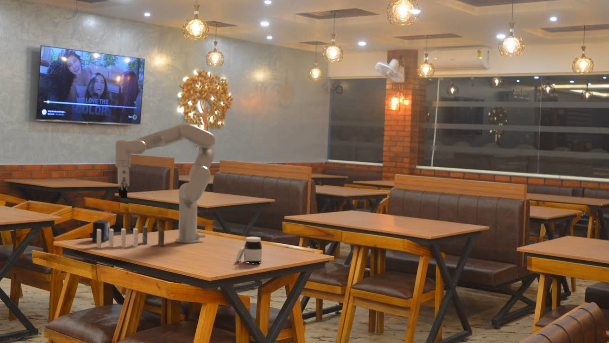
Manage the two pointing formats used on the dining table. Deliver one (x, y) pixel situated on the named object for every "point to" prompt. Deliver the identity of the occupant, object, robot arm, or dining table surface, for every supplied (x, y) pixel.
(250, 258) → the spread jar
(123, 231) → the domino
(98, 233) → the domino
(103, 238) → the small box
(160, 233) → the block
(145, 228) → the end domino
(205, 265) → the dining table surface
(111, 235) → the domino
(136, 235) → the domino
